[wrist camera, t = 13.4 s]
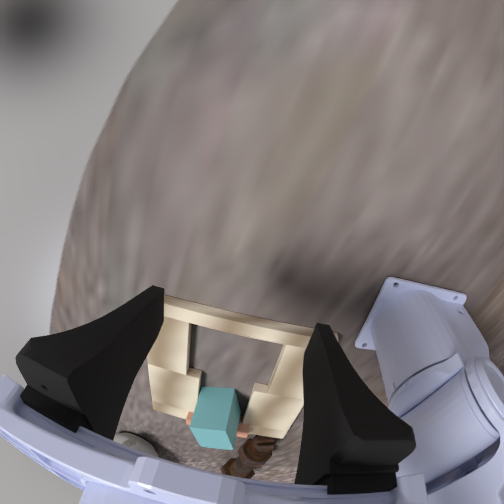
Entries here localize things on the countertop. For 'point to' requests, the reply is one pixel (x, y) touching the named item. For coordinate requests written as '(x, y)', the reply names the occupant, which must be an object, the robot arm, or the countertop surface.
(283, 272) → the countertop surface
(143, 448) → the teacup
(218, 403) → the slider block
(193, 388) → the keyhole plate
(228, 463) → the bolt
